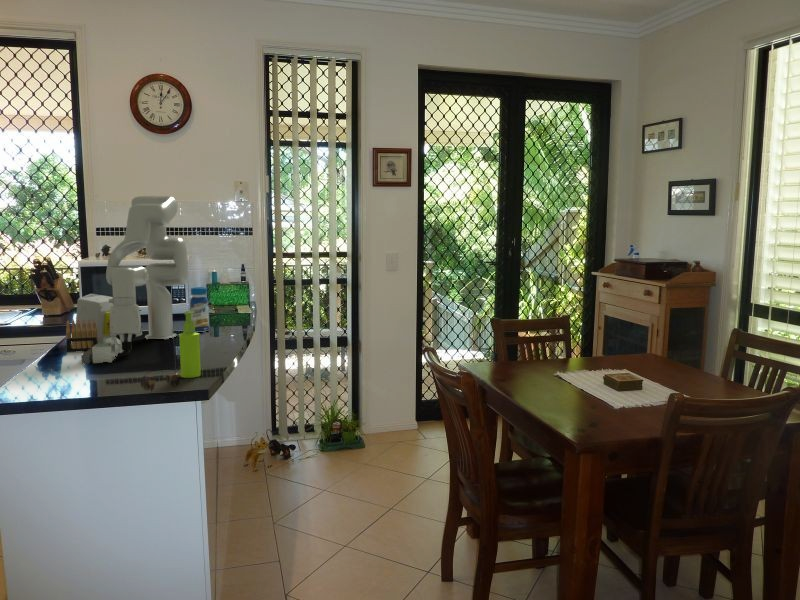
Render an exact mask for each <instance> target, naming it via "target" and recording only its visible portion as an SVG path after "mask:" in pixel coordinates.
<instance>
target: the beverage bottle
mask: <svg viewBox="0 0 800 600" xmlns="http://www.w3.org/2000/svg"><path fill="white" fill-rule="evenodd" d="M207 290H208V289H207V287H205V286H196V287H191V288H190V295H191V296H192V297H191V298H190V301H189V305H190V307H189V311H195V313H192V321H193V322H194V323H195V331H205V330H209V329H210V330H211V328H210V306H209V303H210V302H209V299H208V297H207V296H206V295H207V293H208V291H207Z"/></svg>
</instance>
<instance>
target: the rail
mask: <svg viewBox="0 0 800 600" xmlns="http://www.w3.org/2000/svg"><path fill="white" fill-rule="evenodd" d="M108 338H115V339H116V340H117V342H118V343H119V344H120V345H121V347H120V351H119V353H118V354H122V353H124V350H122V342H121V341H120V340H119V339H118V338H116V337H111V336H110V335H108V336H107V337H105V338H104V339H103V343H97V344H96V345H94V346H93V347H92V348H90V349H89V350H88V351H84V352H83V354H81V355H80V357H81V358H80V360H81V365H88V364H89V363H90V362H91V363H92V364H100V363H101V364H103V362H108V363H113V362H114V361H115V360H116V357H115V344H111V342H110V343H105V342H106V339H108ZM114 359H115V360H114ZM113 360H114V361H113ZM112 361H113V362H112ZM83 363H84V364H83ZM86 363H87V364H86ZM91 363H90V364H91Z"/></svg>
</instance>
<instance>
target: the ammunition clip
mask: <svg viewBox="0 0 800 600" xmlns="http://www.w3.org/2000/svg"><path fill="white" fill-rule="evenodd" d="M70 324H71V325H70ZM65 330H66V331H65V335H66V336H65V337H66V343H65V345H66V346H65V347H66V348H65V349H66V351H65V352H66V353H74V352H75V353H77V352H76V351H82V352H86V351H88V350H89V349H90V348H92V347H93V346H94V345H96V344H97V343H98V339H97V329H96V322H95V320H94V319H93V327H92V330H91V323H90V320H89V319H88V322H87V332H86V325H85V321H84V319H83V321H82V334H81V327H80V322H79V320H78V321H77V337H76V321H75V320H74V319H72V321H71V323H70V321H69V319H68V320H67V321H66V329H65ZM92 341H93V344H92ZM87 343H88V344H87Z"/></svg>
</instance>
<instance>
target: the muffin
mask: <svg viewBox="0 0 800 600" xmlns="http://www.w3.org/2000/svg"><path fill="white" fill-rule="evenodd" d="M110 342H111V344H115V356H116V357H118V354H120V353H119V351H120V347H121V345H120V344H119V343H118V342H117V340H116V339H115V338H108V339H106V342H105V343H110Z"/></svg>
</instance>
